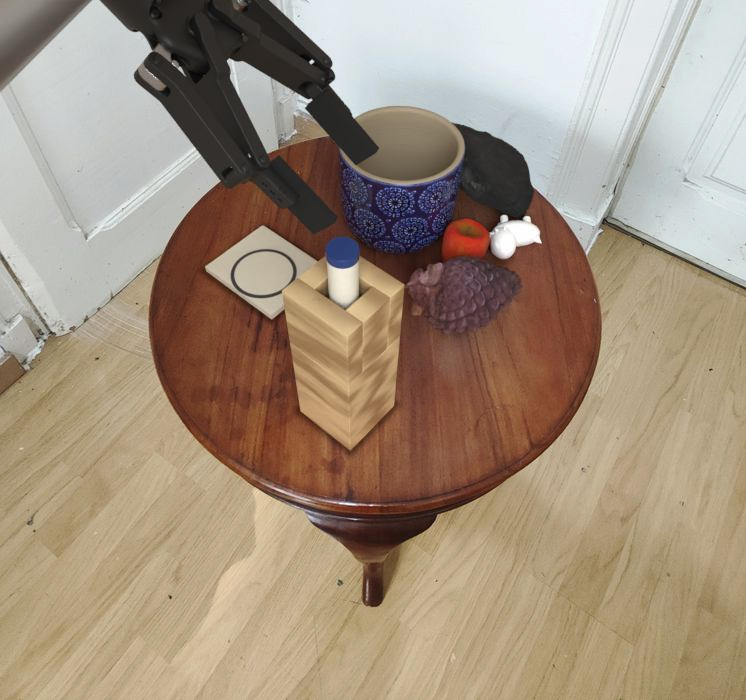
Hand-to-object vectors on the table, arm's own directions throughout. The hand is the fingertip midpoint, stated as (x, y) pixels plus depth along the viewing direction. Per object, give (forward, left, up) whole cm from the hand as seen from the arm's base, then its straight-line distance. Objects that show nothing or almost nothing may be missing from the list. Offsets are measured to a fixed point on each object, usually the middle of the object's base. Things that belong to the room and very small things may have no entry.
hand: (347, 189), depth 53 cm
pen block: (-3, -2, -30) cm, 31 cm away
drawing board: (+6, +21, -30) cm, 38 cm away
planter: (+25, +13, -30) cm, 41 cm away
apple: (+23, +1, -30) cm, 38 cm away
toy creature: (+35, 0, -28) cm, 45 cm away
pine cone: (+18, -4, -30) cm, 35 cm away
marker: (-3, -2, -16) cm, 17 cm away
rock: (+40, +6, -31) cm, 51 cm away
